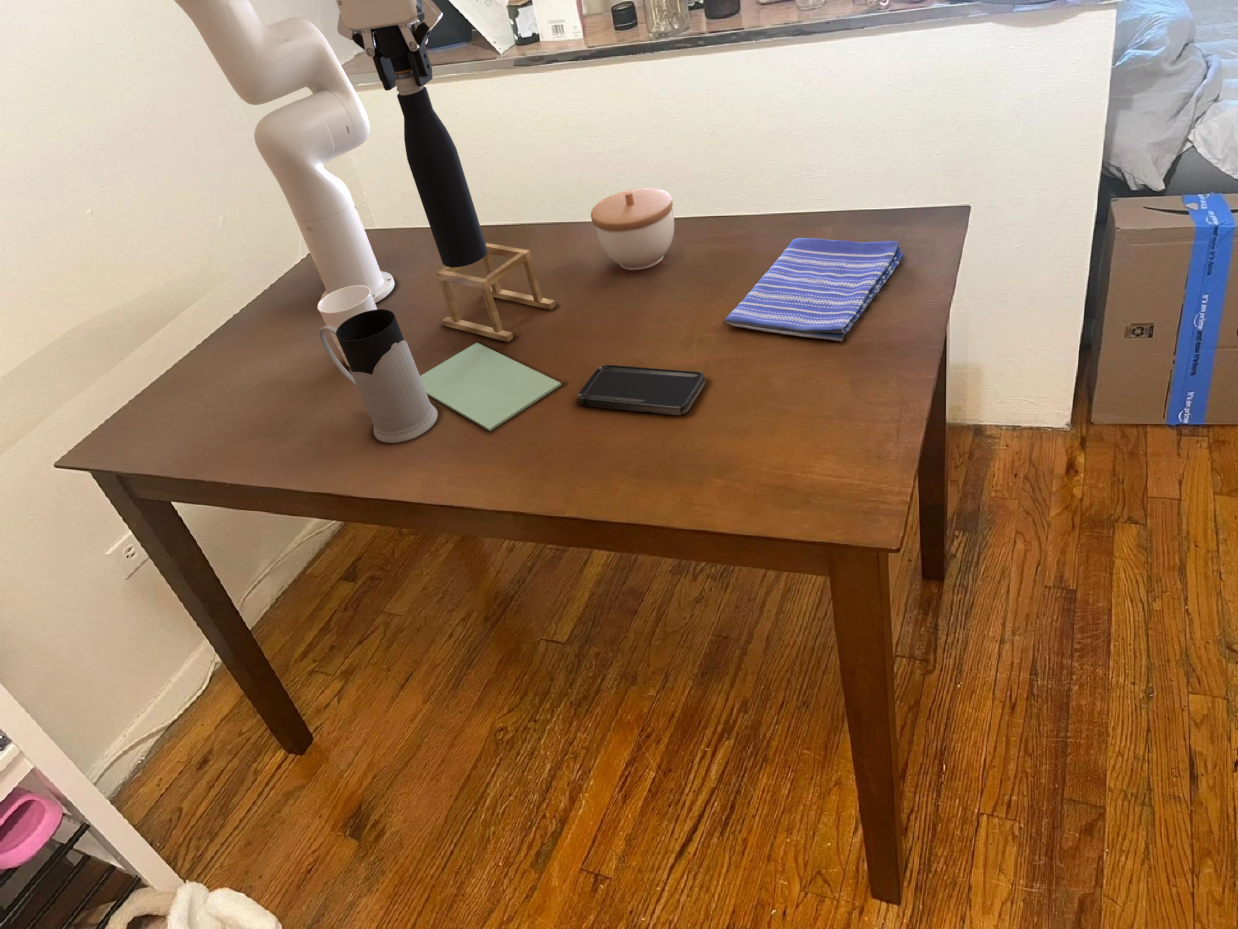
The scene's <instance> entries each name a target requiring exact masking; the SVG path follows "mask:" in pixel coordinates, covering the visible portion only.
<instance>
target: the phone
mask: <svg viewBox="0 0 1238 929" xmlns="http://www.w3.org/2000/svg"><path fill="white" fill-rule="evenodd" d="M705 386H706V379H705V374H704V373H703V372H700V371H693V370H692V371H691V370H681V369H680V370H678V369H667V368H666V369H665V368H655V367H653V368H652V367H640V366H629V365H628V366H627V365H617V364H604V365H601V366H599V367H597V368H596V370H595V371H594V372H593V374H592V375H591V376H590V378H589V379H588V380H587V382H585V384H584V386H583V387H582V388H581V389H580V391H579V392H578V394H577V397H578V401H579V404H580V405H581V406H583V407H591V408H602V409H611V410H621V411H631V412H640V413H641V412H642V413H650V414H661V415H671V416H683V415H686V414H687V413H688V412H689V411H690V410H691V409H692V407H693V405H694V403H695V402H696V400H697V398H698V397H699V395H700V394H701V392H702V390H703V389H704V387H705Z"/></svg>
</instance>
